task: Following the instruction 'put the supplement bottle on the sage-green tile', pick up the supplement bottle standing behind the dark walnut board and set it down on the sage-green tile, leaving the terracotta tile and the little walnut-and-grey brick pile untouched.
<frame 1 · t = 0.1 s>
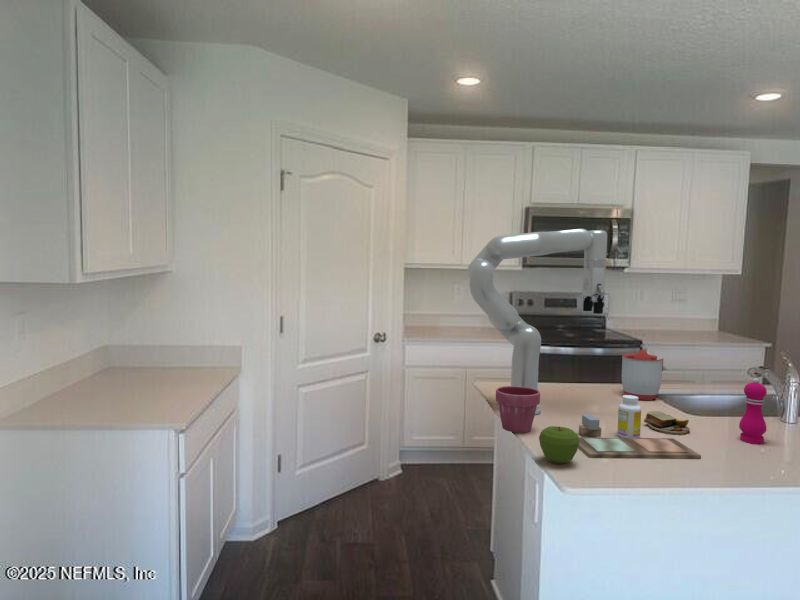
hand: (592, 312, 204), 37 cm above the countertop, tool pointing down, fingers open, 9 cm apart
brick walnut: (589, 435, 178), on the countertop, touching brick grey
toy sandwich meal: (666, 430, 187), on the countertop
supplement bottle: (628, 437, 178), on the countertop
brick grey: (590, 426, 178), point 3 cm above the countertop, touching brick walnut
apple: (558, 462, 154), on the countertop
pepper mill: (751, 441, 176), on the countertop
plant pot: (516, 429, 183), on the countertop
tile board: (633, 449, 166), on the countertop
citrus juicer: (642, 397, 231), on the countertop
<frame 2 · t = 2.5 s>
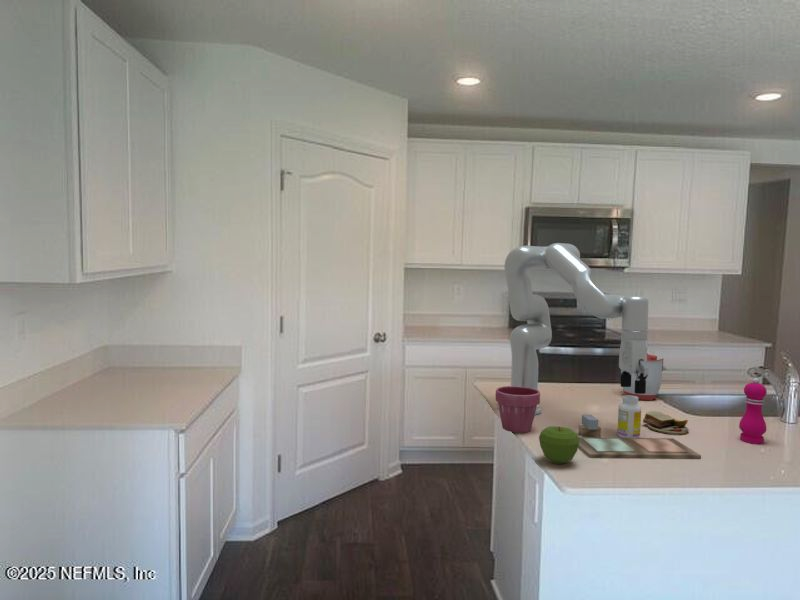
hand: (632, 390, 176), 15 cm above the countertop, tool pointing down, fingers open, 9 cm apart
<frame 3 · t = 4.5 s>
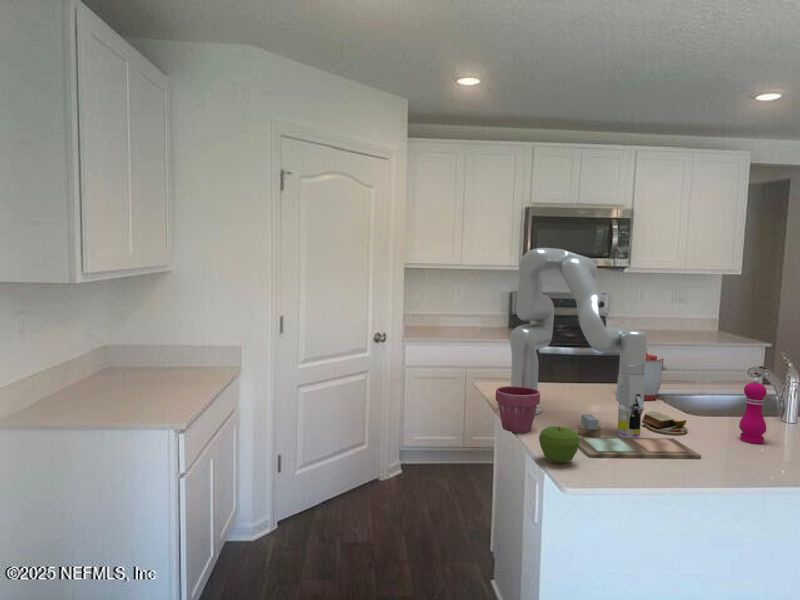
hand: (629, 425, 177), 4 cm above the countertop, tool pointing down, fingers closed on supplement bottle, 6 cm apart
supplement bottle: (628, 437, 178), on the countertop, touching gripper
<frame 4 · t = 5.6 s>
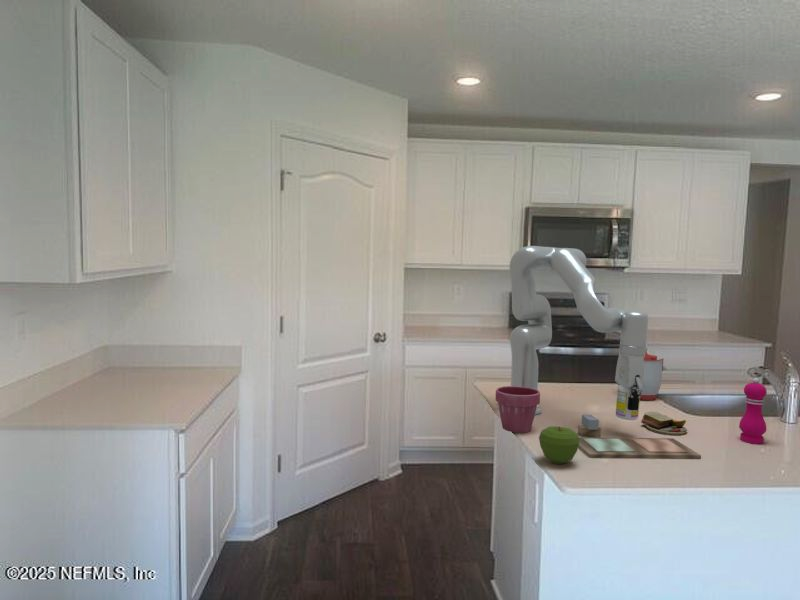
hand: (627, 405, 178), 10 cm above the countertop, tool pointing down, fingers closed on supplement bottle, 6 cm apart
supplement bottle: (626, 418, 178), point 6 cm above the countertop, touching gripper
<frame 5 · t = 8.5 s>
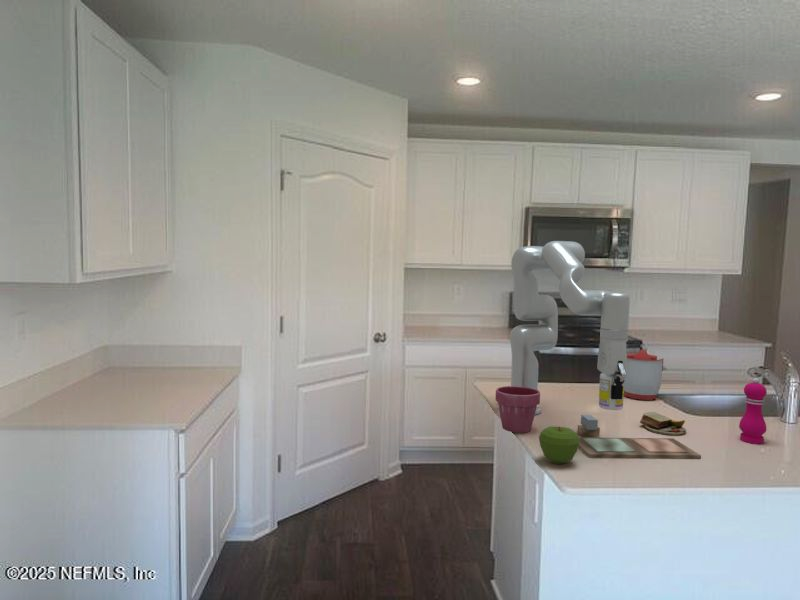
hand: (611, 395, 164), 16 cm above the countertop, tool pointing down, fingers closed on supplement bottle, 6 cm apart
supplement bottle: (610, 408, 164), point 12 cm above the countertop, touching gripper
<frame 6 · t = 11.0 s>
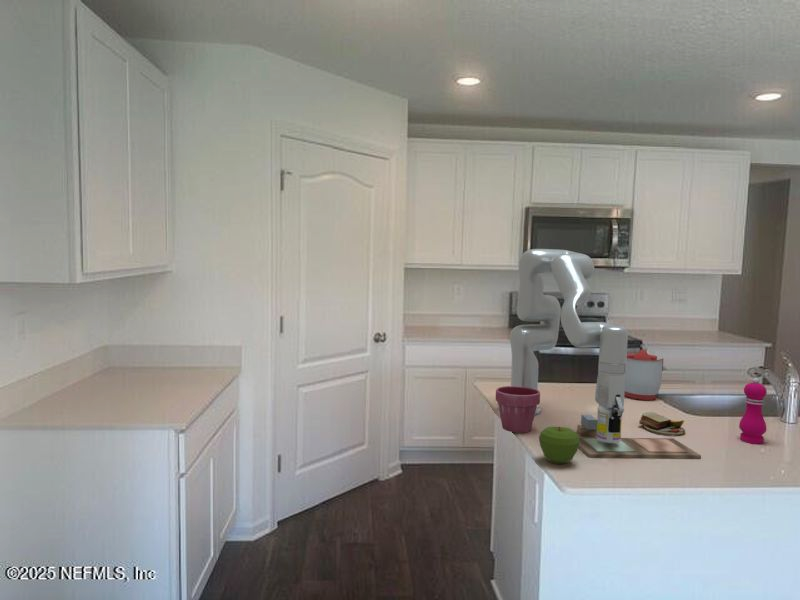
hand: (608, 427, 165), 6 cm above the countertop, tool pointing down, fingers closed on supplement bottle, 6 cm apart
supplement bottle: (608, 440, 165), point 2 cm above the countertop, touching gripper
when the fingers open (6 cm above the countertop, at t = 11.0 s): supplement bottle drops 1 cm, resting on tile board.
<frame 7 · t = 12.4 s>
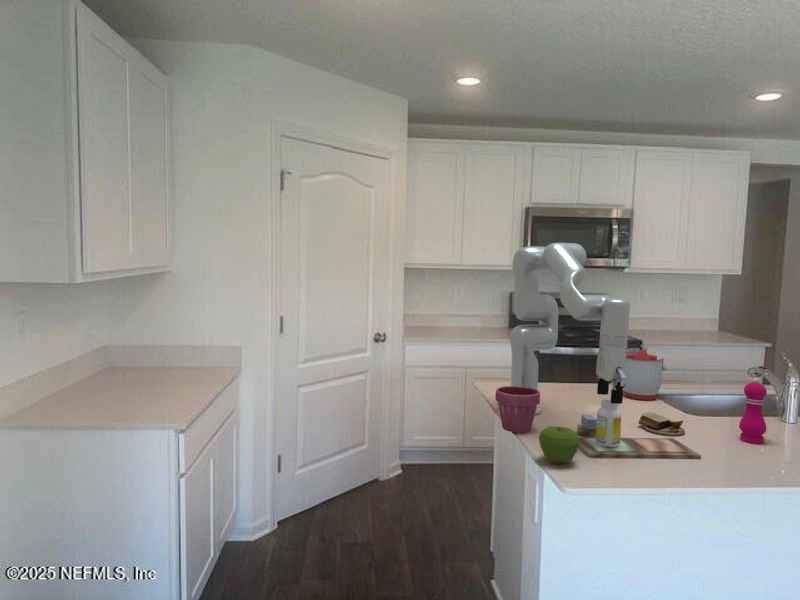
hand: (609, 398, 165), 15 cm above the countertop, tool pointing down, fingers open, 9 cm apart
supplement bottle: (607, 444, 165), point 1 cm above the countertop, touching tile board
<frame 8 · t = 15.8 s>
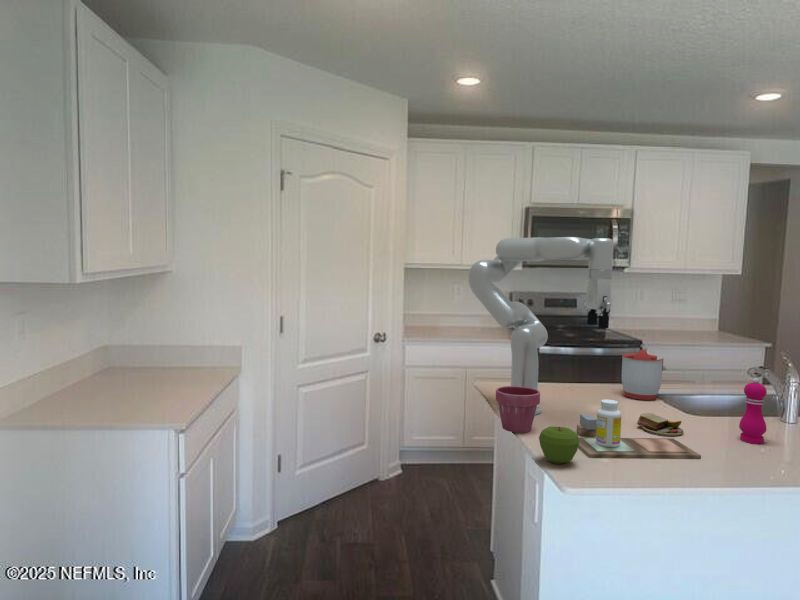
hand: (597, 326, 189), 33 cm above the countertop, tool pointing down, fingers open, 9 cm apart
at the end: supplement bottle inside the target area on the tile board (0.3 cm from its centre), point 1.1 cm above the tile board's base; supplement bottle tilted 0°; brick grey moved 0.7 cm from its start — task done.
